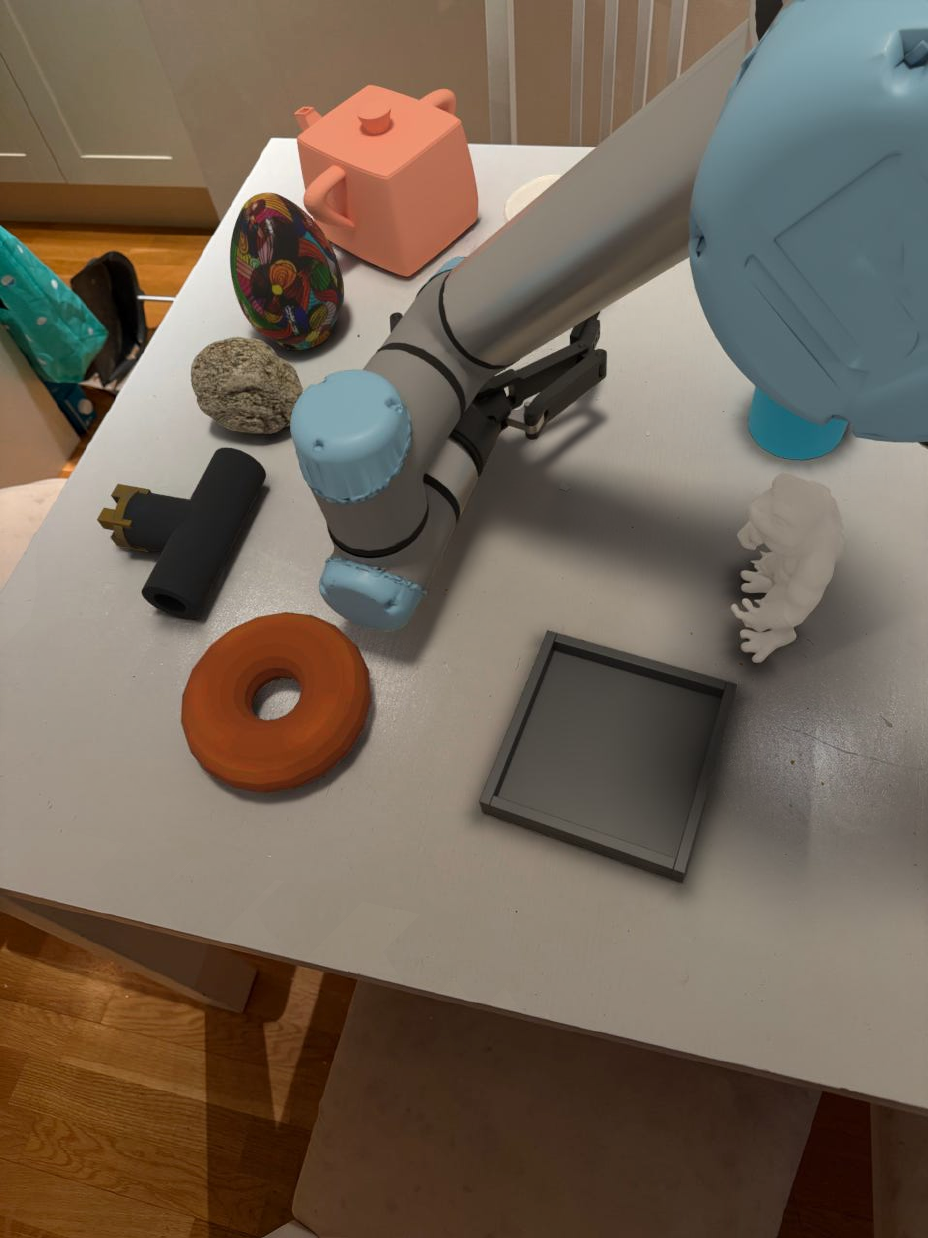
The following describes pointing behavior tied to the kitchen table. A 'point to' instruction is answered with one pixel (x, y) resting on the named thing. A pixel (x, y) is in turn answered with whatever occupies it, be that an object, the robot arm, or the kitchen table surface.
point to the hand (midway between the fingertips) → (525, 286)
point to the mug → (791, 430)
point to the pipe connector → (187, 529)
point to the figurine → (788, 559)
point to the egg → (285, 272)
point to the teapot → (388, 176)
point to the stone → (245, 385)
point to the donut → (294, 741)
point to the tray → (611, 753)
